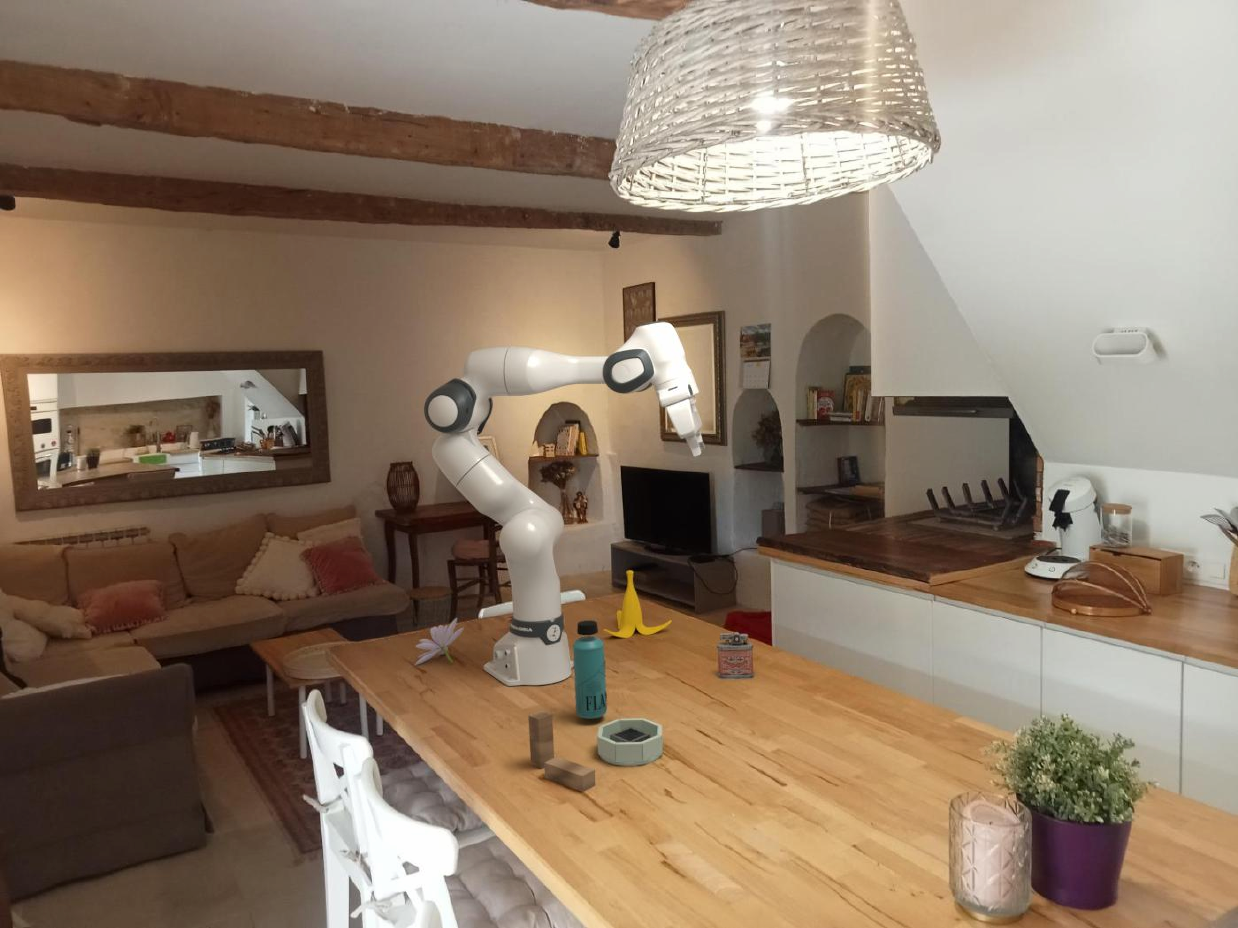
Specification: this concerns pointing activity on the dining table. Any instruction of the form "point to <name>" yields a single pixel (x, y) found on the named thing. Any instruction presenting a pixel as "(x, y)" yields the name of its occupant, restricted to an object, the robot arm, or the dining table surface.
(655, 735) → the faceted green bowl
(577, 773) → the small wooden block
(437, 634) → the water lily
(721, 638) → the lighter
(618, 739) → the wick clip
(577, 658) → the beverage bottle
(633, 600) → the banana peel
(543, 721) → the wooden post
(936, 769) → the dining table surface
